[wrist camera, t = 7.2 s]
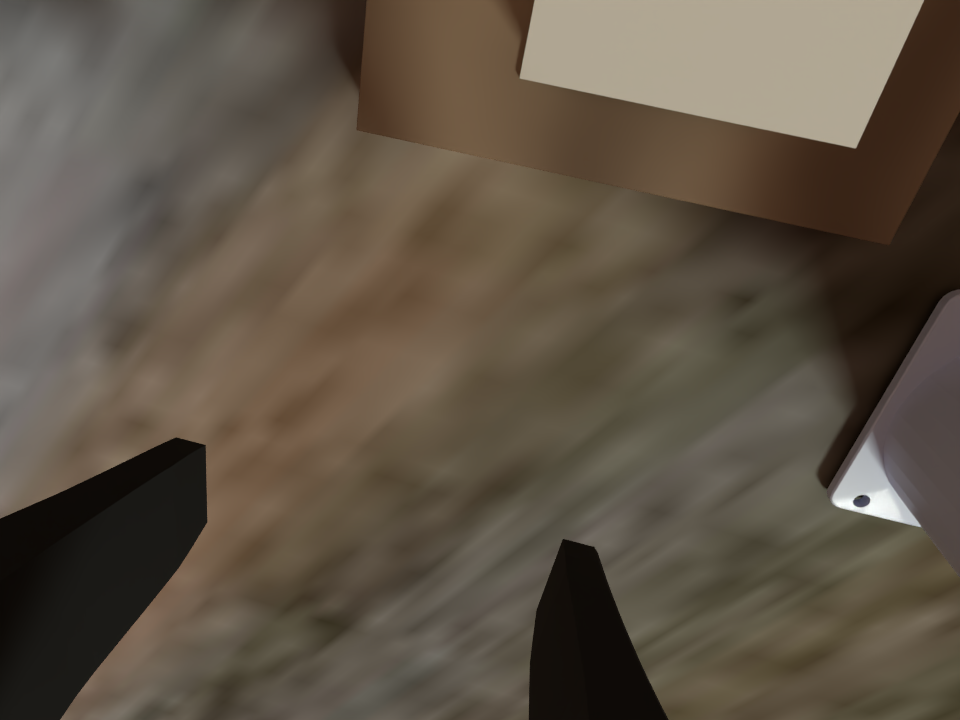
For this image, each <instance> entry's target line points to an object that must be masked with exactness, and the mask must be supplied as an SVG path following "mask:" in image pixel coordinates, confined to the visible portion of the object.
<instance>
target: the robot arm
mask: <svg viewBox="0 0 960 720" xmlns="http://www.w3.org/2000/svg"><path fill="white" fill-rule="evenodd" d="M860 495H864V496H863V497H862V498H861V499H858V500H854V498H856V497H857V496H860ZM827 496H828V498H829V500H830V501H831V503H832V504H833V505H834V506H836V507H839V508H842V509H847V510H851V511H855V512H859V513H863V514H867V515H872V516H876V517H880V518H884V519H888V520H892V521H897V522H901V523H905V524H909V525H913V526H917V527H922V528H923V529H924V531H925V532H926V533H927V535H928V536H929V537H930V539H931V540H932V541H933V543H934V544H935V545H936V547H937V548H938V549H939V551H940V552H941V553H942V555H943V556H944V557H945V559H946V560H947V561H948V563H949V564H950V565H951V567H952V568H953V569H954V570H955V572H956V573H957V574H958V576H959V577H960V289H958V290H955V291H951V292H949V293H948V294H946V295H944V296H943V297H942V299H941V300H940V301H939V302H938V304H937V306H936V307H935V309H934V311H933V312H932V314H931V316H930V317H929V319H928V321H927V322H926V324H925V326H924V327H923V329H922V331H921V332H920V334H919V336H918V337H917V339H916V341H915V342H914V344H913V346H912V347H911V349H910V351H909V353H908V354H907V356H906V358H905V359H904V361H903V363H902V364H901V366H900V368H899V369H898V371H897V373H896V374H895V376H894V378H893V379H892V381H891V383H890V384H889V386H888V388H887V389H886V391H885V393H884V395H883V396H882V398H881V400H880V401H879V403H878V405H877V406H876V408H875V410H874V411H873V413H872V415H871V416H870V418H869V420H868V421H867V423H866V425H865V426H864V428H863V430H862V431H861V433H860V435H859V437H858V438H857V440H856V442H855V443H854V445H853V447H852V448H851V450H850V452H849V453H848V455H847V457H846V458H845V460H844V462H843V463H842V465H841V467H840V468H839V470H838V472H837V473H836V475H835V477H834V478H833V480H832V482H831V484H830V485H829V487H828V489H827ZM206 523H207V491H206V445H203V444H199V443H195V442H192V441H188V440H184V439H180V438H174V439H172V440H169V441H167V442H165V443H163V444H161V445H158V446H156V447H154V448H152V449H150V450H148V451H146V452H144V453H142V454H140V455H138V456H136V457H134V458H132V459H129V460H127V461H125V462H123V463H121V464H119V465H117V466H115V467H113V468H111V469H109V470H107V471H105V472H103V473H101V474H98V475H96V476H94V477H92V478H90V479H88V480H86V481H84V482H82V483H80V484H77V485H75V486H73V487H71V488H69V489H67V490H65V491H63V492H60V493H58V494H56V495H54V496H51V497H49V498H47V499H45V500H42V501H40V502H38V503H35V504H33V505H31V506H28V507H26V508H24V509H21V510H19V511H17V512H15V513H12V514H10V515H8V516H5V517H3V518H1V519H0V720H60V719H61V718H62V716H63V715H64V713H65V712H66V710H67V709H68V707H69V706H70V704H71V703H72V701H73V700H74V698H75V697H76V696H77V694H78V693H79V692H80V690H81V689H82V688H83V686H84V685H85V684H86V682H87V681H88V680H89V678H90V677H91V676H92V675H93V673H94V672H95V671H96V669H97V668H98V667H99V666H100V664H101V663H102V662H103V661H104V660H105V658H106V657H107V656H108V655H109V653H110V652H111V651H112V650H113V649H114V647H115V646H116V645H117V644H118V642H119V641H120V640H121V639H122V638H123V636H124V635H125V634H126V633H127V631H128V630H129V629H130V628H131V626H132V625H133V624H134V623H135V622H136V620H137V619H138V618H139V617H140V615H141V614H142V613H143V612H144V611H145V609H146V608H147V607H148V606H149V604H150V603H151V602H152V601H153V599H154V598H155V597H156V596H157V594H158V593H159V592H160V591H161V589H162V588H163V587H164V586H165V584H166V583H167V582H168V581H169V580H170V578H171V577H172V576H173V574H174V573H175V572H176V571H177V569H178V568H179V566H180V565H181V563H182V562H183V560H184V559H185V557H186V556H187V554H188V553H189V551H190V550H191V548H192V546H193V545H194V543H195V541H196V540H197V538H198V536H199V535H200V533H201V532H202V530H203V528H204V527H205V525H206ZM529 720H668V718H667V716H666V714H665V712H664V710H663V708H662V706H661V704H660V702H659V700H658V698H657V696H656V694H655V692H654V690H653V688H652V686H651V684H650V682H649V680H648V678H647V676H646V674H645V671H644V669H643V667H642V665H641V663H640V661H639V658H638V656H637V654H636V651H635V649H634V647H633V645H632V642H631V640H630V638H629V635H628V633H627V631H626V628H625V626H624V623H623V621H622V619H621V616H620V614H619V611H618V608H617V606H616V603H615V601H614V598H613V595H612V593H611V590H610V587H609V585H608V582H607V579H606V576H605V573H604V570H603V567H602V564H601V561H600V558H599V555H598V553H597V551H596V549H595V548H594V547H592V546H588V545H584V544H581V543H577V542H573V541H569V540H565V539H563V540H562V543H561V546H560V548H559V551H558V554H557V556H556V559H555V562H554V565H553V567H552V570H551V573H550V575H549V578H548V581H547V584H546V586H545V589H544V592H543V594H542V597H541V600H540V602H539V605H538V608H537V611H536V619H535V627H534V634H533V642H532V651H531V659H530V687H529Z"/></svg>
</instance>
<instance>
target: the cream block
mask: <svg viewBox="0 0 960 720" xmlns="http://www.w3.org/2000/svg"><path fill="white" fill-rule="evenodd" d="M923 2H924V0H535V1H534V6H533V12H532V17H531V22H530V27H529V32H528V37H527V43H526V48H525V53H524V58H523V63H522V68H521V74H520V79H525V80H529V81H534V82H539V83H544V84H549V85H553V86H558V87H563V88H568V89H573V90H577V91H582V92H587V93H592V94H597V95H601V96H606V97H611V98H616V99H621V100H625V101H630V102H635V103H640V104H645V105H649V106H654V107H659V108H664V109H669V110H673V111H678V112H683V113H688V114H693V115H697V116H702V117H707V118H712V119H716V120H721V121H726V122H731V123H736V124H740V125H745V126H750V127H755V128H760V129H764V130H769V131H774V132H779V133H784V134H788V135H793V136H798V137H803V138H808V139H812V140H817V141H822V142H827V143H832V144H836V145H841V146H846V147H851V148H856V147H857V145H858V143H859V141H860V138H861V136H862V134H863V132H864V130H865V128H866V125H867V123H868V121H869V119H870V117H871V115H872V112H873V110H874V108H875V106H876V104H877V102H878V99H879V97H880V95H881V93H882V91H883V89H884V86H885V84H886V82H887V80H888V78H889V76H890V73H891V71H892V69H893V67H894V65H895V63H896V60H897V58H898V56H899V54H900V52H901V50H902V47H903V45H904V43H905V41H906V39H907V37H908V34H909V32H910V30H911V28H912V26H913V24H914V21H915V19H916V17H917V15H918V13H919V11H920V8H921V6H922V4H923Z"/></svg>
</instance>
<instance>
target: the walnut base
mask: <svg viewBox="0 0 960 720" xmlns="http://www.w3.org/2000/svg"><path fill="white" fill-rule="evenodd" d="M534 1H535V0H367V2H366V15H365V28H364V40H363V53H362V66H361V79H360V92H359V105H358V117H357V130H359V131H363V132H368V133H372V134H377V135H382V136H386V137H391V138H396V139H400V140H405V141H409V142H414V143H419V144H423V145H428V146H432V147H437V148H442V149H446V150H451V151H456V152H460V153H465V154H469V155H474V156H479V157H483V158H488V159H492V160H497V161H502V162H506V163H511V164H516V165H520V166H525V167H529V168H534V169H539V170H543V171H548V172H552V173H557V174H562V175H566V176H571V177H576V178H580V179H585V180H589V181H594V182H599V183H603V184H608V185H612V186H617V187H622V188H626V189H631V190H636V191H640V192H645V193H649V194H654V195H659V196H663V197H668V198H672V199H677V200H682V201H686V202H691V203H696V204H700V205H705V206H709V207H714V208H719V209H723V210H728V211H732V212H737V213H742V214H746V215H751V216H756V217H760V218H765V219H769V220H774V221H779V222H783V223H788V224H792V225H797V226H802V227H806V228H811V229H816V230H820V231H825V232H829V233H834V234H839V235H843V236H848V237H852V238H857V239H862V240H866V241H871V242H876V243H880V244H885V245H890V243H891V241H892V239H893V237H894V235H895V233H896V231H897V230H898V228H899V226H900V224H901V222H902V220H903V218H904V216H905V214H906V212H907V211H908V209H909V207H910V205H911V203H912V201H913V199H914V197H915V195H916V193H917V192H918V190H919V188H920V186H921V184H922V182H923V180H924V178H925V176H926V174H927V173H928V171H929V169H930V167H931V165H932V163H933V161H934V159H935V157H936V155H937V154H938V152H939V150H940V148H941V146H942V144H943V142H944V140H945V138H946V136H947V135H948V133H949V131H950V129H951V127H952V125H953V123H954V121H955V119H956V118H957V116H958V114H959V112H960V0H924V2H923V4H922V6H921V8H920V11H919V13H918V15H917V17H916V19H915V21H914V24H913V26H912V28H911V30H910V32H909V34H908V37H907V39H906V41H905V43H904V45H903V47H902V50H901V52H900V54H899V56H898V58H897V60H896V63H895V65H894V67H893V69H892V71H891V73H890V76H889V78H888V80H887V82H886V84H885V86H884V89H883V91H882V93H881V95H880V97H879V99H878V102H877V104H876V106H875V108H874V110H873V112H872V115H871V117H870V119H869V121H868V123H867V125H866V128H865V130H864V132H863V134H862V136H861V138H860V141H859V143H858V145H857V147H856V148H851V147H846V146H841V145H836V144H832V143H827V142H822V141H817V140H812V139H808V138H803V137H798V136H793V135H788V134H784V133H779V132H774V131H769V130H764V129H760V128H755V127H750V126H745V125H740V124H736V123H731V122H726V121H721V120H716V119H712V118H707V117H702V116H697V115H693V114H688V113H683V112H678V111H673V110H669V109H664V108H659V107H654V106H649V105H645V104H640V103H635V102H630V101H625V100H621V99H616V98H611V97H606V96H601V95H597V94H592V93H587V92H582V91H577V90H573V89H568V88H563V87H558V86H553V85H549V84H544V83H539V82H534V81H529V80H525V79H520V74H521V68H522V63H523V58H524V53H525V48H526V43H527V37H528V32H529V27H530V22H531V17H532V12H533V6H534Z"/></svg>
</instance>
